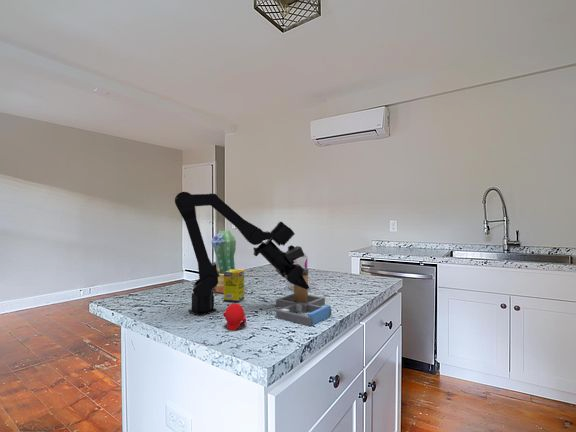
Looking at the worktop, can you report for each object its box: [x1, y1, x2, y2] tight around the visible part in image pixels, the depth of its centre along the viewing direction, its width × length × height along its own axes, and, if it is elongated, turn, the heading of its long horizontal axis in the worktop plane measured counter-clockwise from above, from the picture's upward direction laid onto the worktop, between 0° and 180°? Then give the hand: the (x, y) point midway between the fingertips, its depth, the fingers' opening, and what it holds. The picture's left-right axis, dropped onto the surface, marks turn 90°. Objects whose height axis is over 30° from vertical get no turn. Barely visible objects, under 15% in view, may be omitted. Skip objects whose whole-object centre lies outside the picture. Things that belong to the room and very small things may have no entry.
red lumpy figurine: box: [223, 302, 247, 332], centre depth 89 cm, size 8×6×6 cm
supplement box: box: [223, 269, 245, 304], centre depth 116 cm, size 6×6×11 cm
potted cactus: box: [211, 230, 243, 294], centre depth 132 cm, size 15×15×25 cm
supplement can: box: [287, 252, 308, 291], centre depth 136 cm, size 8×8×15 cm
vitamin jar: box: [293, 267, 309, 303], centre depth 111 cm, size 5×5×13 cm
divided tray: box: [275, 293, 332, 327], centre depth 104 cm, size 22×20×3 cm
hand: (304, 285), depth 111 cm, fingers open, 8 cm apart
